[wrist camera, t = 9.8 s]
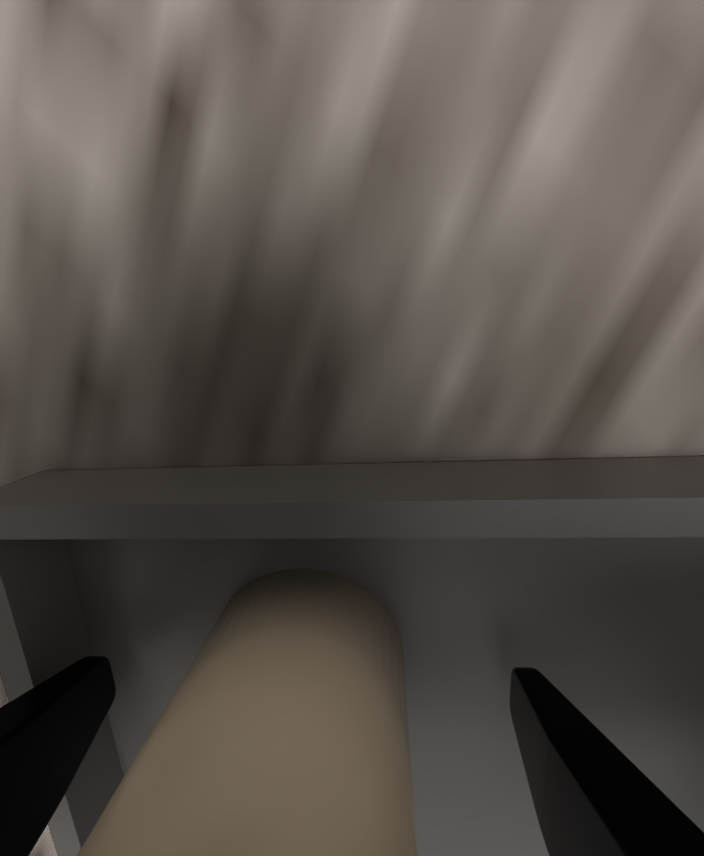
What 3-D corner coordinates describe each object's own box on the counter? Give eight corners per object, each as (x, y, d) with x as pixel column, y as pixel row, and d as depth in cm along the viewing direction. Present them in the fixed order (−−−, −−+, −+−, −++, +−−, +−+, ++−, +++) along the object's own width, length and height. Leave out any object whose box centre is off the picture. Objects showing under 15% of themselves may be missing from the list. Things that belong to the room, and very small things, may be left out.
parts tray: (824, 453, 6) (989, 493, 5) (692, 990, 10) (759, 1131, 8) (45, 470, 8) (-52, 506, 6) (160, 938, 11) (118, 1050, 9)
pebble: (401, 569, 7) (434, 933, 3) (405, 731, 8) (433, 1204, 4) (204, 568, 7) (-49, 887, 3) (228, 723, 8) (57, 1146, 4)
